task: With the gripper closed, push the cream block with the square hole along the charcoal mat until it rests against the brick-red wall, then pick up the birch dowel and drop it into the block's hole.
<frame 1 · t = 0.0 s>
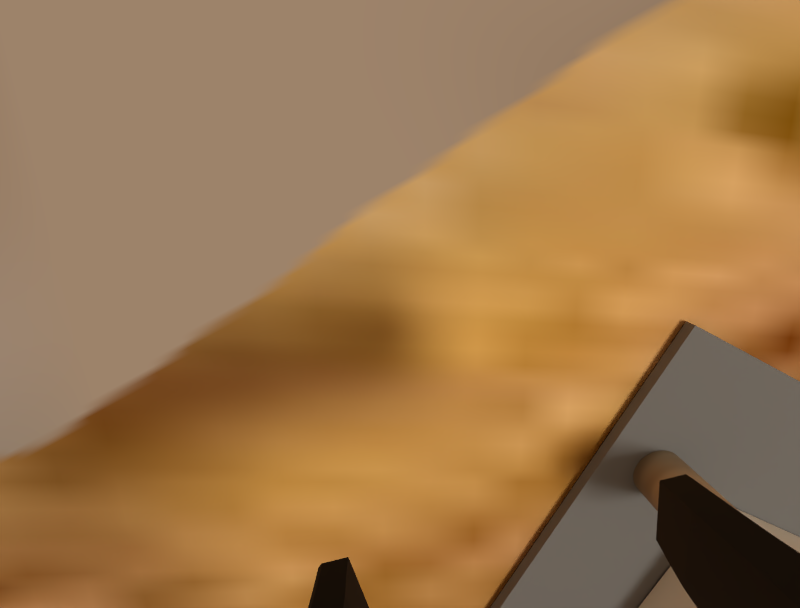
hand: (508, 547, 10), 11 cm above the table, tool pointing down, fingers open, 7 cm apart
birch dowel: (657, 472, 22), point 1 cm above the table, touching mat
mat: (711, 586, 25), on the table
sliding block: (751, 605, 23), point 2 cm above the table, slide at 0.0 cm
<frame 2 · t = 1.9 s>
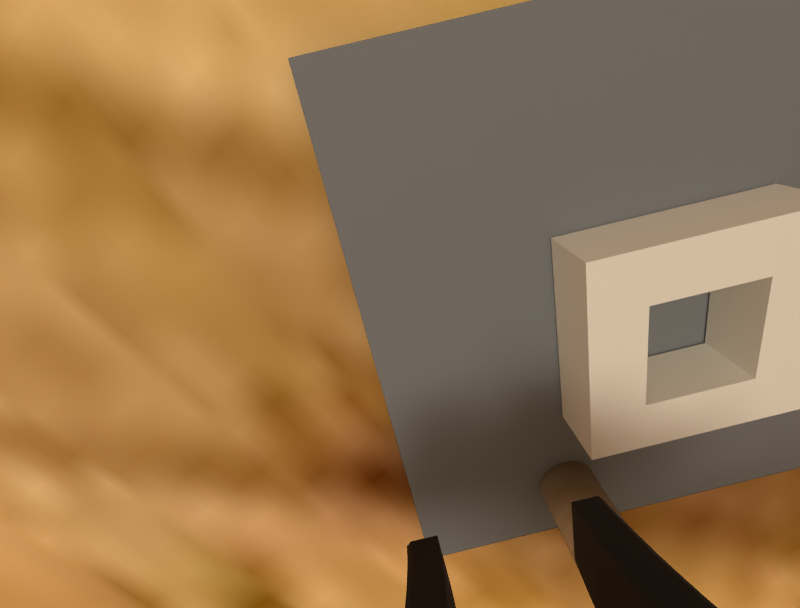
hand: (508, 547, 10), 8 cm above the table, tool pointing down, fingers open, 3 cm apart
birch dowel: (566, 481, 21), point 1 cm above the table, touching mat
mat: (672, 297, 18), on the table
sliding block: (680, 326, 16), point 2 cm above the table, slide at 0.0 cm
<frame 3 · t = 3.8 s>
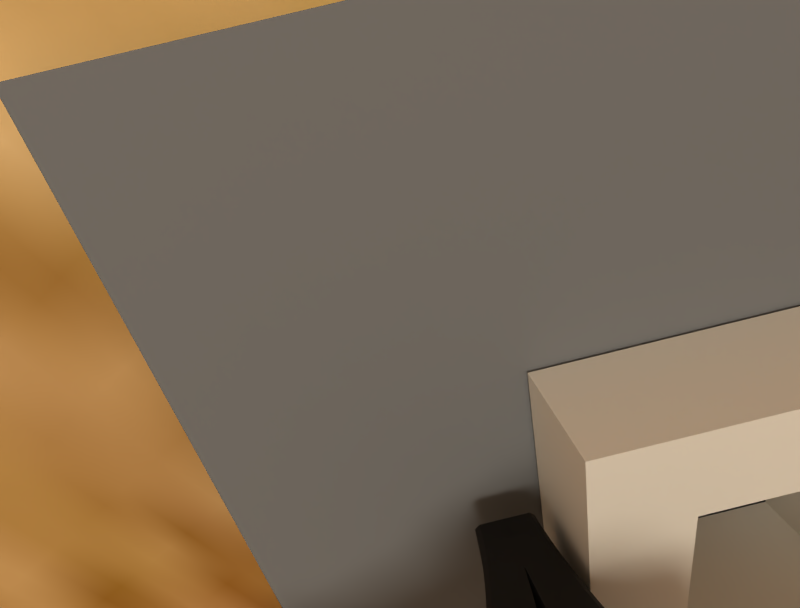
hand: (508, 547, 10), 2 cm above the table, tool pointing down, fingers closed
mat: (714, 437, 12), on the table
sliding block: (738, 507, 10), point 2 cm above the table, slide at 0.1 cm, touching gripper
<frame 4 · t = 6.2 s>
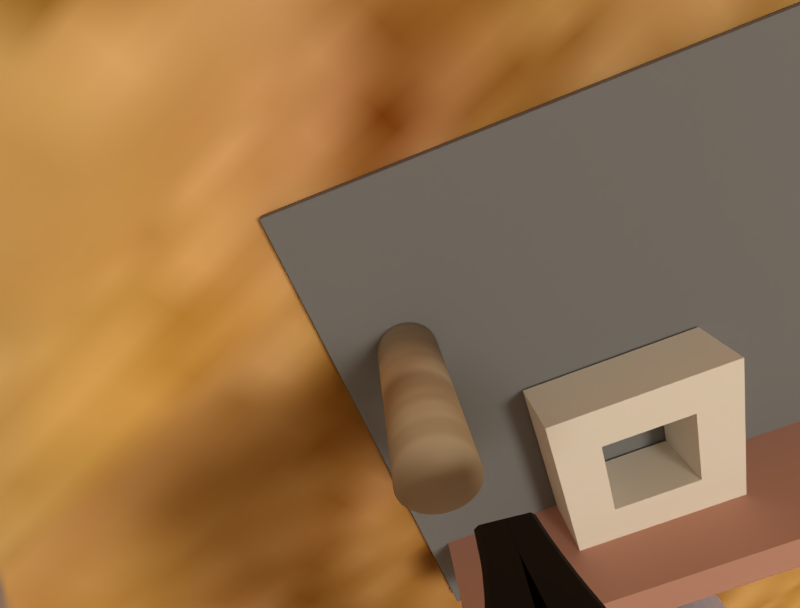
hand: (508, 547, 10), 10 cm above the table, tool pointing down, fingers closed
birch dowel: (407, 349, 19), point 1 cm above the table, touching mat
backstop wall: (632, 492, 24), resting on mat
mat: (604, 368, 21), on the table
sliding block: (636, 443, 20), point 2 cm above the table, slide at 4.0 cm
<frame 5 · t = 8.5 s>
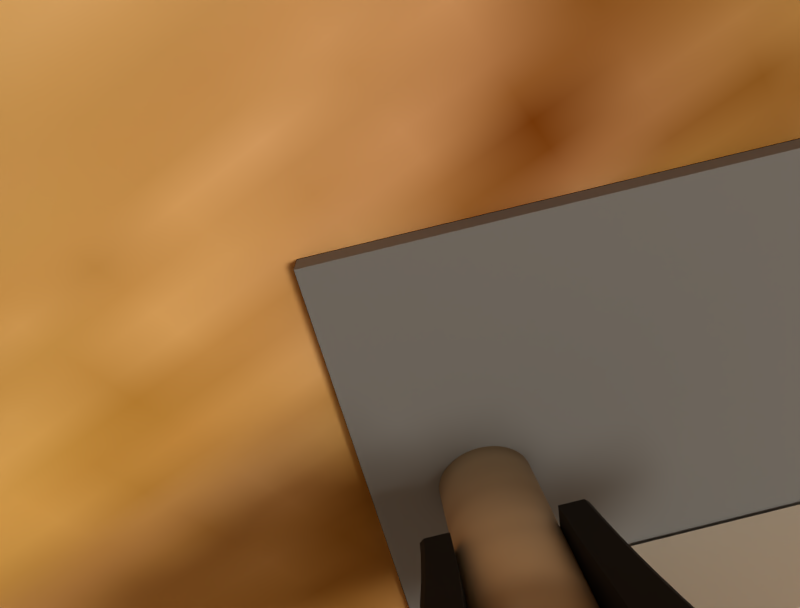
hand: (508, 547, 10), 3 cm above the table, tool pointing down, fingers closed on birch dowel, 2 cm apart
birch dowel: (485, 482, 12), point 1 cm above the table, touching gripper, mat
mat: (736, 517, 15), on the table
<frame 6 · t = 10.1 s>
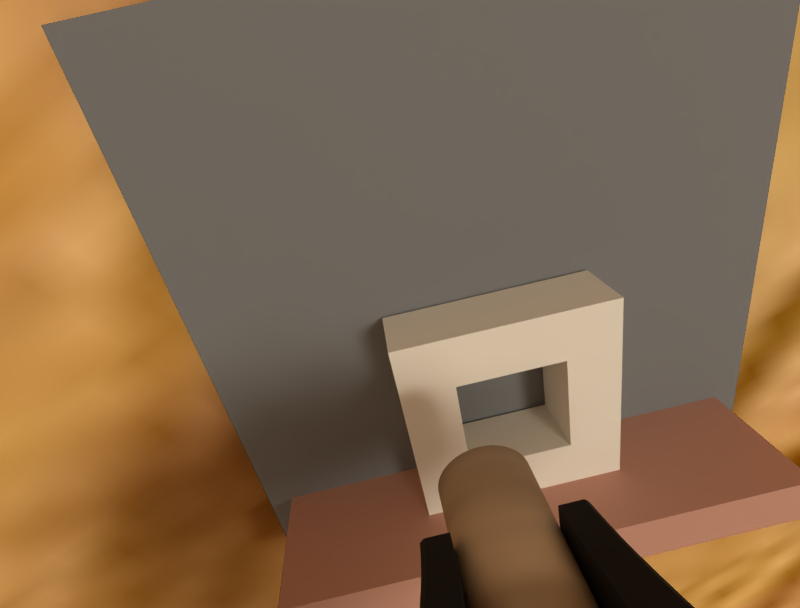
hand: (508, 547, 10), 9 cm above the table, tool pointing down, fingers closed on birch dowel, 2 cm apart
birch dowel: (484, 481, 12), point 7 cm above the table, touching gripper
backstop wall: (506, 462, 21), resting on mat
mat: (482, 308, 18), on the table
sliding block: (505, 396, 18), point 2 cm above the table, slide at 4.0 cm
when the fingers open (4 cm above the table, at t = 11.9 s): birch dowel drops 1 cm, resting on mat.
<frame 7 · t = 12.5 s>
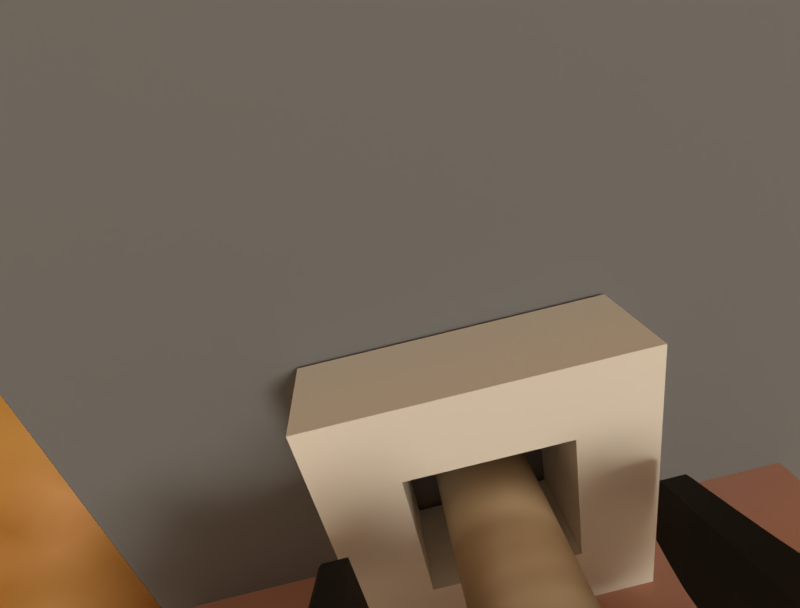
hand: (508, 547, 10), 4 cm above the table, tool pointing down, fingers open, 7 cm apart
birch dowel: (471, 444, 13), point 1 cm above the table, touching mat
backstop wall: (492, 553, 16), resting on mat
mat: (451, 349, 13), on the table
sliding block: (484, 480, 12), point 2 cm above the table, slide at 4.0 cm
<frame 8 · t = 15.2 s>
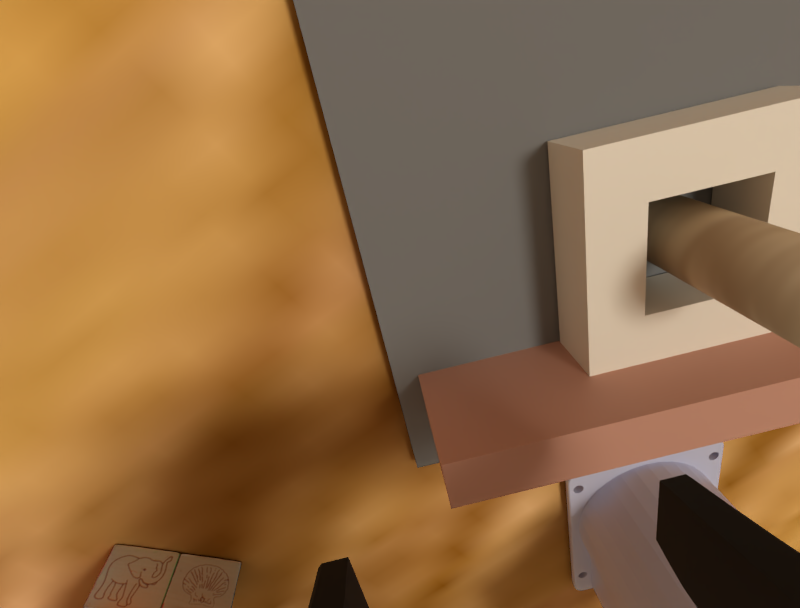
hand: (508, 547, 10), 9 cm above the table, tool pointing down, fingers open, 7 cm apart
birch dowel: (656, 225, 17), point 1 cm above the table, touching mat
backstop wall: (651, 338, 19), resting on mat
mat: (649, 142, 16), on the table
sliding block: (680, 236, 16), point 2 cm above the table, slide at 4.0 cm
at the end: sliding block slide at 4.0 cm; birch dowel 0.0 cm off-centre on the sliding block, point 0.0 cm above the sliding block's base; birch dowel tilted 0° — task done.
